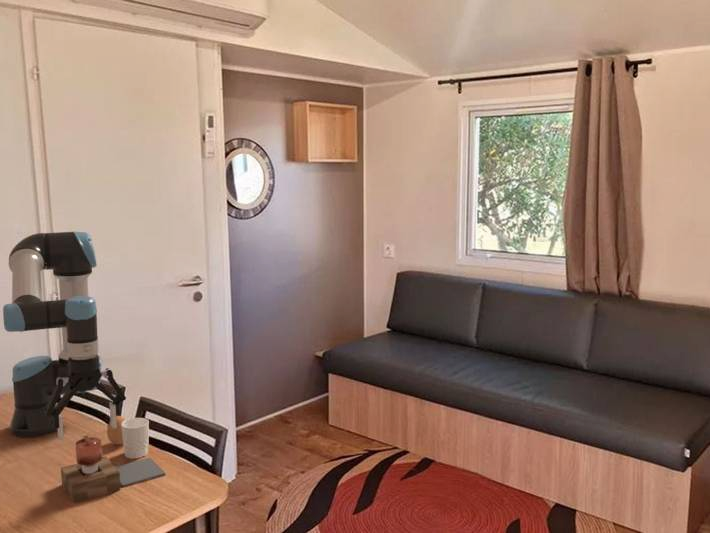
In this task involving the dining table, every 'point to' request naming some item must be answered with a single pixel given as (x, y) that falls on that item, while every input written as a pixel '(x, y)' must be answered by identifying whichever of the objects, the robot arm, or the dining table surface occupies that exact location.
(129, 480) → the mat
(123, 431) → the white cup
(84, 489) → the eye block
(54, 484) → the dining table surface
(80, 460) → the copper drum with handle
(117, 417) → the egg
